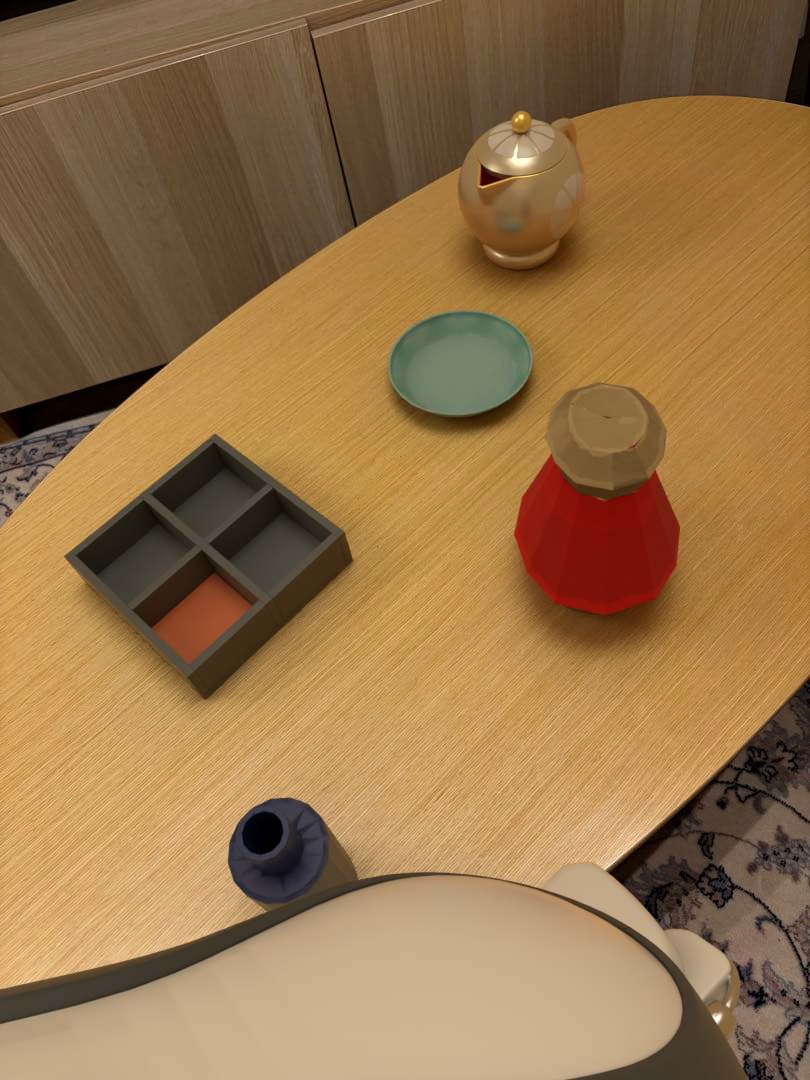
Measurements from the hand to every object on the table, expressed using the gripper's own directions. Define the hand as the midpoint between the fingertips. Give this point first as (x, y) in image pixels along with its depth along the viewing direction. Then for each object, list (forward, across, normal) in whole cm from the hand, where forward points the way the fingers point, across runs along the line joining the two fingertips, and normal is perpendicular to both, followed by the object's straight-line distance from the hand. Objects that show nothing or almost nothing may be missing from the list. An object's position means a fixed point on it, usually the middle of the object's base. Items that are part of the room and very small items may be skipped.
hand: (374, 995), depth 38 cm
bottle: (+30, -34, +6) cm, 46 cm away
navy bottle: (+26, 0, +9) cm, 28 cm away
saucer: (+48, -42, -12) cm, 65 cm away
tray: (+46, -10, -11) cm, 49 cm away
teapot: (+55, -62, -19) cm, 85 cm away
